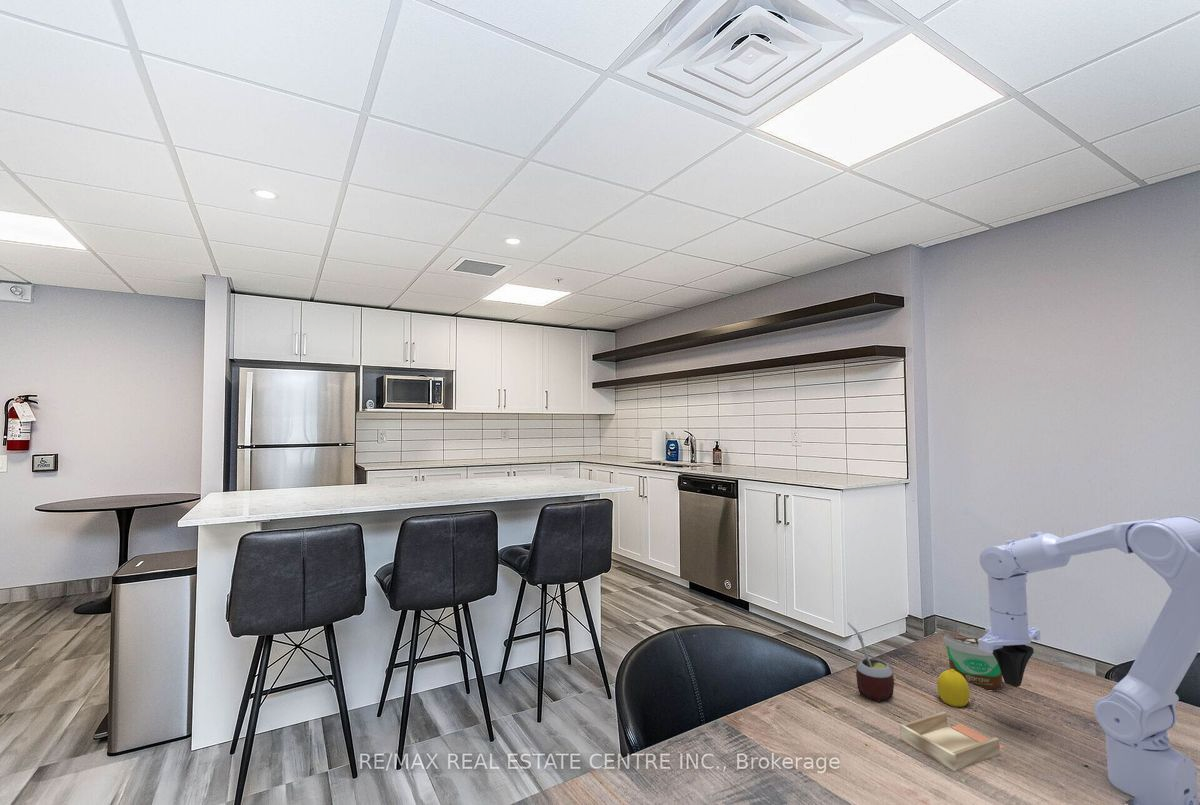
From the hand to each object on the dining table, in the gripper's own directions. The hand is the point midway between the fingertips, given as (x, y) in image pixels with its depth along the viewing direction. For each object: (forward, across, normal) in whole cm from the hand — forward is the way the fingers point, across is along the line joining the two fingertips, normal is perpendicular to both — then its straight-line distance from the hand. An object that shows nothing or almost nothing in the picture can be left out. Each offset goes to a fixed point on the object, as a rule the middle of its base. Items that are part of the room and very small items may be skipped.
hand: (1012, 684), depth 102 cm
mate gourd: (+10, +13, -20) cm, 26 cm away
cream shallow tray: (+9, +16, -1) cm, 19 cm away
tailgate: (+8, +10, -1) cm, 13 cm away
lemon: (+10, +1, -11) cm, 15 cm away
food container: (+10, -13, -15) cm, 22 cm away
